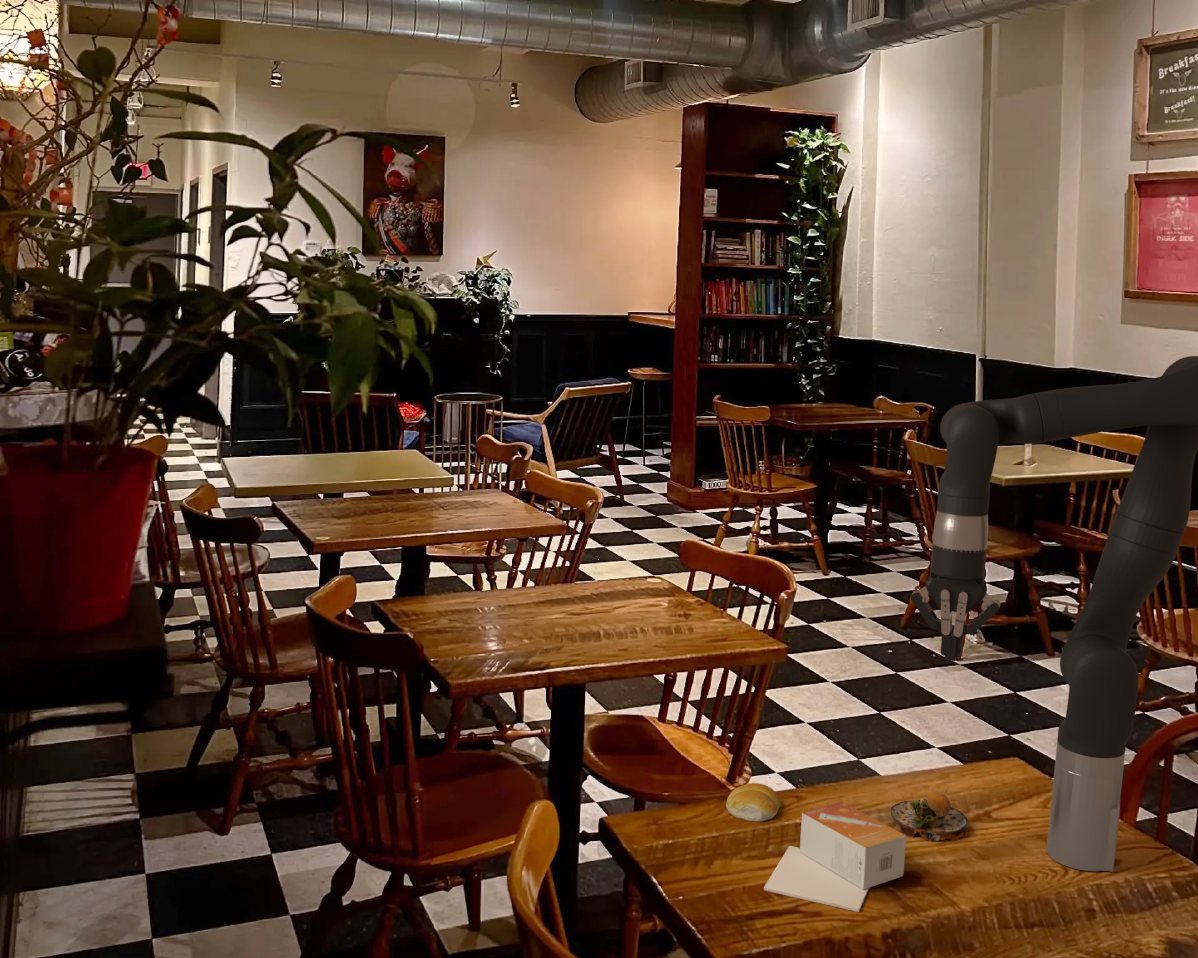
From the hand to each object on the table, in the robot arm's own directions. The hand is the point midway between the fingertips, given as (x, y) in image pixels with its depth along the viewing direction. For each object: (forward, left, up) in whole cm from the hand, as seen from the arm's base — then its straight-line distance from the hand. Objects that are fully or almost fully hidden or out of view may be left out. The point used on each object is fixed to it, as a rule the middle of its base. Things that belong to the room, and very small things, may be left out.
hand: (950, 658), depth 174 cm
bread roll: (+28, +1, -30) cm, 41 cm away
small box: (+5, +17, -25) cm, 31 cm away
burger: (+2, -7, -30) cm, 30 cm away
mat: (+13, +18, -29) cm, 37 cm away
